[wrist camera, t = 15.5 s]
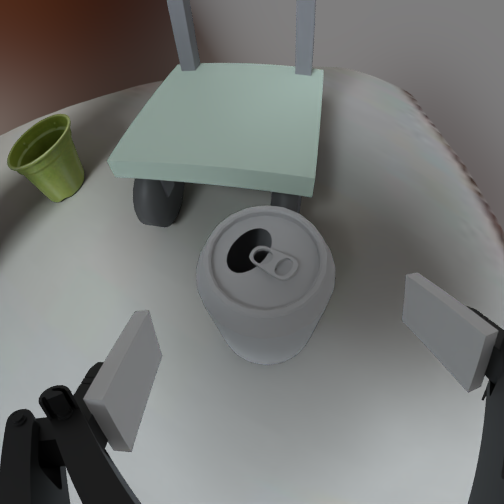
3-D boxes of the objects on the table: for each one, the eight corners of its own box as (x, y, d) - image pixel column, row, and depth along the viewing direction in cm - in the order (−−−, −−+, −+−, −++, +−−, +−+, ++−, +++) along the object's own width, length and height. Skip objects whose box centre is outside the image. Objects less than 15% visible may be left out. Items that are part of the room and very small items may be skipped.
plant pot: (66, 156, 38) (41, 113, 30) (109, 162, 36) (83, 112, 29) (29, 205, 34) (-4, 165, 26) (69, 219, 32) (32, 172, 24)
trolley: (141, 236, 30) (31, 28, 10) (195, 123, 38) (161, -38, 18) (301, 261, 28) (337, -18, 8) (316, 134, 36) (330, -45, 16)
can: (258, 266, 28) (250, 173, 17) (328, 312, 25) (367, 238, 15) (204, 330, 25) (158, 268, 15) (276, 384, 23) (283, 363, 12)
